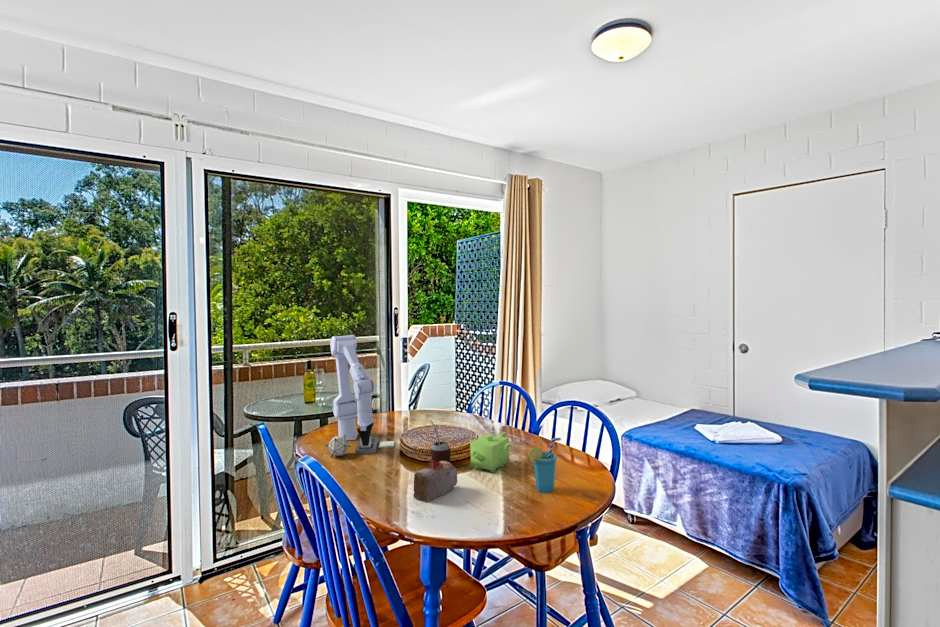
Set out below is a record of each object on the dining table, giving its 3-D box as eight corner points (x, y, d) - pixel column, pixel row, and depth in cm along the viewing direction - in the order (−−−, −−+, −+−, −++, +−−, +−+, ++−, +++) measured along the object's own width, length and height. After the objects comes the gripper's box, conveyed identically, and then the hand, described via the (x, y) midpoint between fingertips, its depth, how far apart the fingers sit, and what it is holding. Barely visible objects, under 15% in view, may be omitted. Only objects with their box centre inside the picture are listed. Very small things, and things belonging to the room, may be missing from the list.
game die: (339, 467, 187) (331, 452, 180) (325, 455, 191) (318, 440, 185) (357, 451, 192) (351, 435, 185) (344, 440, 196) (337, 424, 190)
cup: (551, 478, 160) (550, 433, 159) (571, 485, 154) (569, 438, 153) (522, 492, 151) (521, 443, 150) (542, 499, 145) (541, 449, 144)
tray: (379, 443, 203) (379, 441, 203) (394, 442, 203) (394, 440, 203) (378, 447, 197) (378, 446, 197) (393, 446, 197) (393, 445, 197)
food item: (440, 483, 160) (439, 453, 159) (459, 488, 155) (458, 457, 155) (411, 498, 149) (409, 466, 148) (431, 504, 144) (429, 471, 144)
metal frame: (360, 442, 204) (359, 438, 204) (378, 441, 205) (378, 437, 205) (355, 454, 189) (355, 450, 189) (375, 453, 190) (375, 449, 190)
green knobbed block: (505, 458, 181) (505, 427, 180) (517, 472, 167) (516, 439, 166) (465, 462, 178) (464, 431, 177) (473, 477, 164) (472, 444, 163)
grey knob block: (361, 448, 196) (361, 432, 195) (372, 448, 196) (371, 431, 196) (360, 452, 192) (360, 435, 191) (371, 451, 192) (370, 434, 192)
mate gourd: (448, 470, 171) (446, 427, 170) (426, 469, 172) (424, 426, 171) (453, 462, 178) (451, 421, 177) (432, 461, 180) (430, 420, 179)
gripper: (373, 413, 186) (374, 449, 187) (376, 404, 200) (378, 437, 201) (354, 414, 185) (355, 450, 186) (359, 405, 200) (360, 438, 201)
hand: (366, 443), depth 194 cm, fingers closed on grey knob block, 4 cm apart
